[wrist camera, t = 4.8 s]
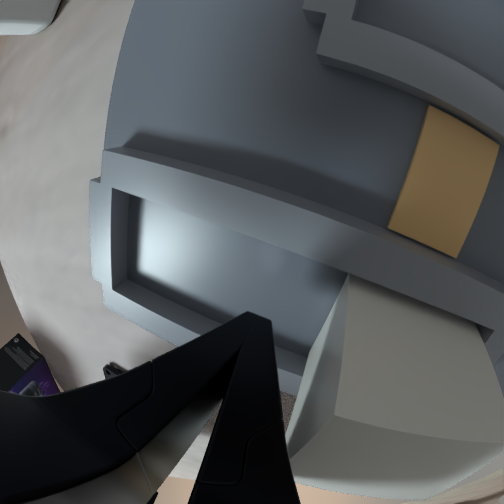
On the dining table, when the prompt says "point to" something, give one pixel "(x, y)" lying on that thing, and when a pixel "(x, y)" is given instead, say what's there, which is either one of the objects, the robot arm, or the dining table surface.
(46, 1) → the eye dropper bottle
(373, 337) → the tab
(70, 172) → the dining table surface
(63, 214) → the dining table surface
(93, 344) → the dining table surface
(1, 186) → the dining table surface
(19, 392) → the box
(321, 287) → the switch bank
